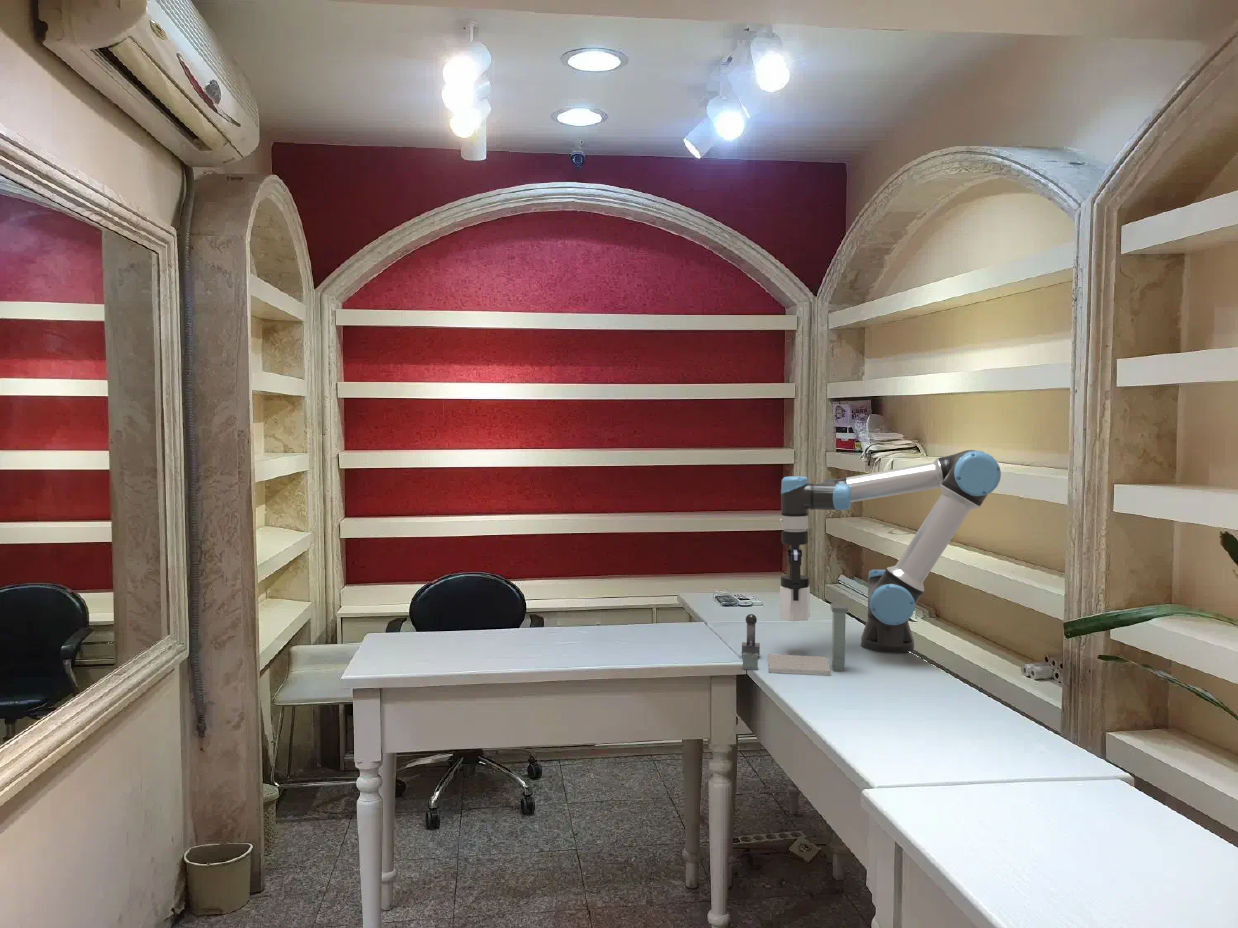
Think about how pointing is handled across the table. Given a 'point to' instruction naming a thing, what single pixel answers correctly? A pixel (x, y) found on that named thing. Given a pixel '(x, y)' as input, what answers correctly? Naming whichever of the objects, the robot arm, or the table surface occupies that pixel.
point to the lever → (751, 636)
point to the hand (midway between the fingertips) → (795, 608)
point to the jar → (786, 599)
